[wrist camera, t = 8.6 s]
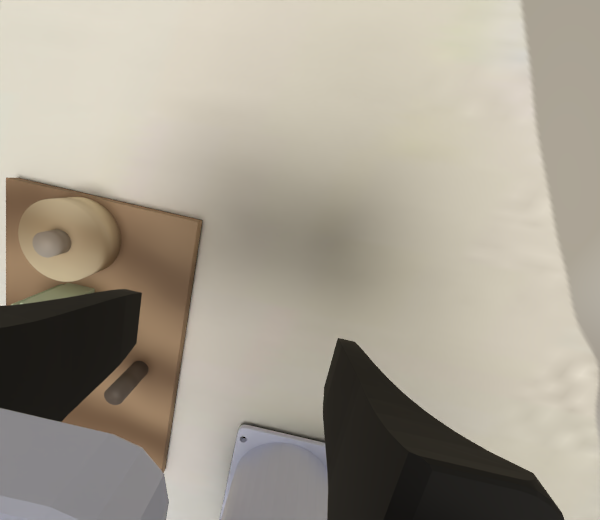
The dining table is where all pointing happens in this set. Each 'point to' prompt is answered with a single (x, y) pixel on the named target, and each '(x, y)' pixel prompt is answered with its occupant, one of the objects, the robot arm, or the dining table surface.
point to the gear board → (110, 276)
